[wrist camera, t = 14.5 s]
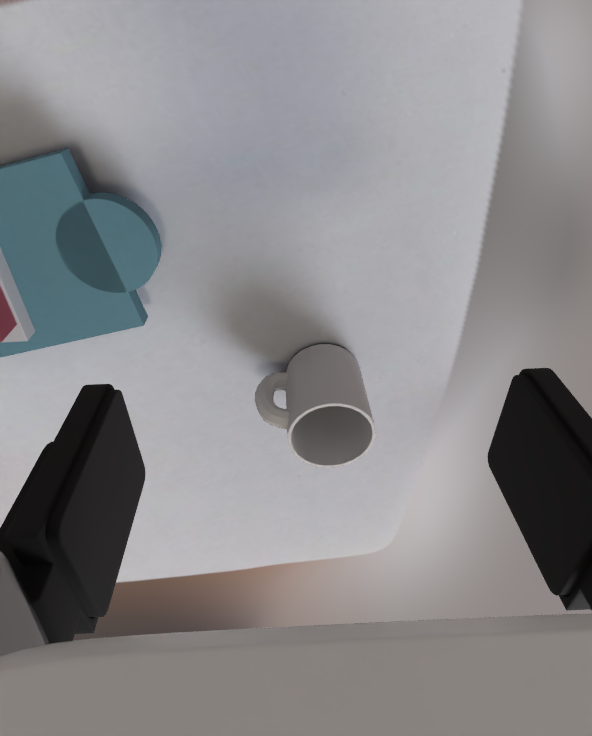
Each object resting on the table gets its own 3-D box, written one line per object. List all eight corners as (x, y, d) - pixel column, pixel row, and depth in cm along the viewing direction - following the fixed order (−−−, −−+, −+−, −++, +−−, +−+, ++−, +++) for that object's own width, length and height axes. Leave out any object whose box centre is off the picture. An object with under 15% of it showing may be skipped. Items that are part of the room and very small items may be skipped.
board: (-56, 349, 42) (-83, 376, 39) (-171, 207, 34) (-217, 225, 31) (193, 293, 40) (186, 316, 36) (128, 128, 32) (112, 138, 29)
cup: (350, 404, 48) (364, 470, 40) (252, 395, 46) (249, 461, 39) (367, 345, 44) (385, 407, 36) (260, 334, 42) (258, 395, 35)
